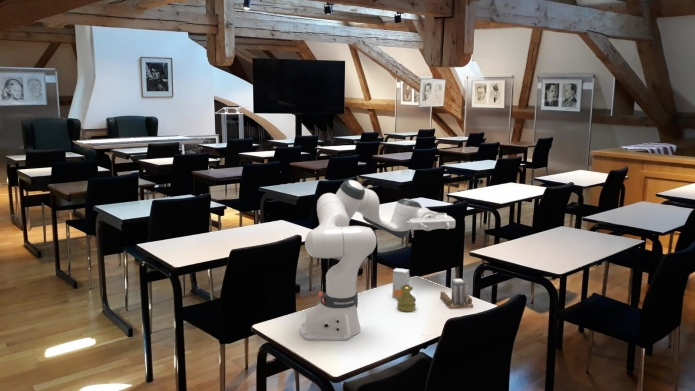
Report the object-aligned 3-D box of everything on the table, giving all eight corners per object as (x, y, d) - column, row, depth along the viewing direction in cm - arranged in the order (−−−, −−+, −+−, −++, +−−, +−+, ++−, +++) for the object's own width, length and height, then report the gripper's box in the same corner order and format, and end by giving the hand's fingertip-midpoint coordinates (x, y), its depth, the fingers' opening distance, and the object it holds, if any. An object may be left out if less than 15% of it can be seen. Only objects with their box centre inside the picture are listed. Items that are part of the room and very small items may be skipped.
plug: (454, 306, 232) (455, 282, 230) (451, 303, 235) (452, 278, 233) (464, 306, 232) (465, 281, 230) (460, 302, 236) (461, 278, 234)
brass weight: (414, 312, 226) (415, 288, 224) (395, 311, 227) (396, 287, 225) (416, 305, 233) (416, 282, 231) (398, 304, 234) (398, 281, 232)
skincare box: (392, 297, 242) (392, 270, 240) (395, 294, 246) (395, 267, 244) (405, 299, 240) (406, 272, 237) (408, 296, 243) (409, 269, 241)
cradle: (449, 309, 229) (450, 287, 228) (440, 298, 241) (440, 278, 239) (473, 307, 231) (474, 286, 229) (462, 297, 242) (463, 276, 240)
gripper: (405, 214, 254) (413, 221, 240) (449, 212, 257) (460, 219, 243) (405, 228, 255) (413, 236, 241) (448, 226, 258) (459, 233, 245)
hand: (437, 227), depth 242 cm, fingers open, 8 cm apart
